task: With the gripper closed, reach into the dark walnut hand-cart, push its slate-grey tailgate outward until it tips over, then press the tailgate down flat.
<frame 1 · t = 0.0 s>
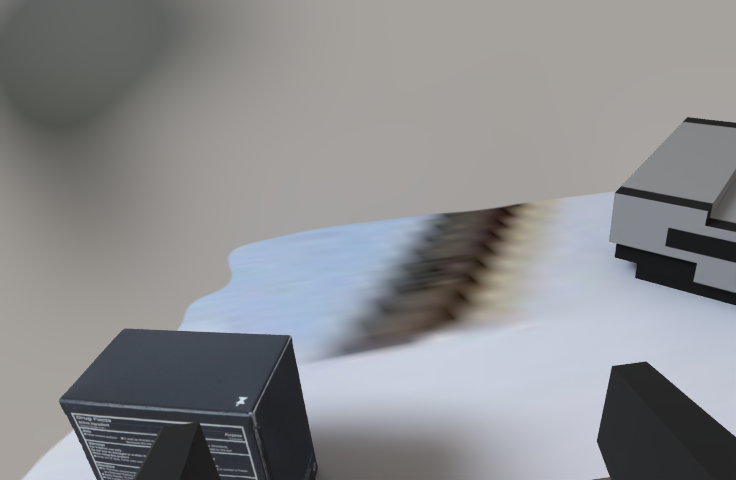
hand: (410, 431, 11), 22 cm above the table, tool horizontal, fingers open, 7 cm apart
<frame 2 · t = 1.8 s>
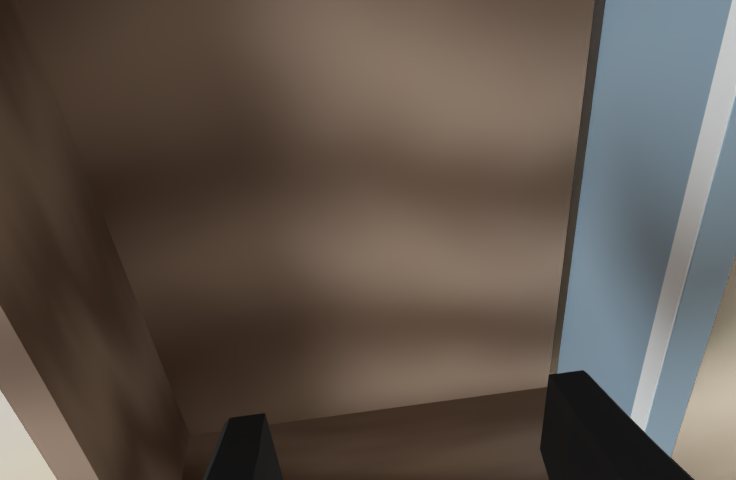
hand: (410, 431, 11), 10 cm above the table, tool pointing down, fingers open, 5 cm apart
cart bed: (329, 171, 19), on the table
tailgate: (647, 200, 16), point 4 cm above the table, hinge at 0.0°
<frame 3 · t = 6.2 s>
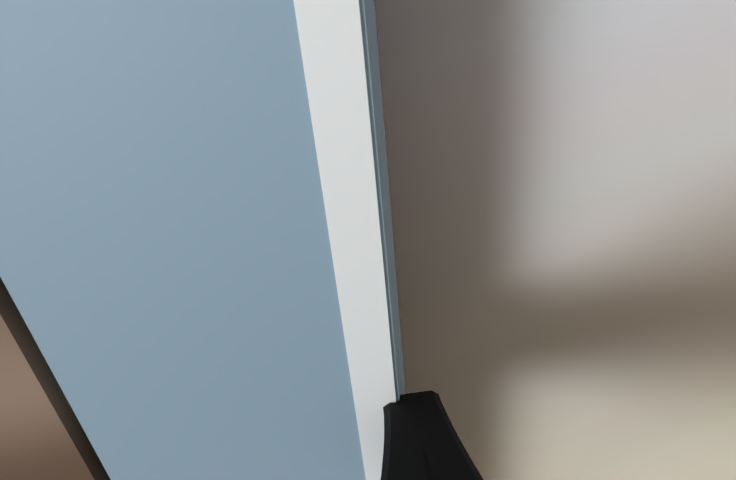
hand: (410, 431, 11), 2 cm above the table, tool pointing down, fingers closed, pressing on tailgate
tailgate: (245, 415, 11), point 1 cm above the table, hinge at 77.8°, touching gripper
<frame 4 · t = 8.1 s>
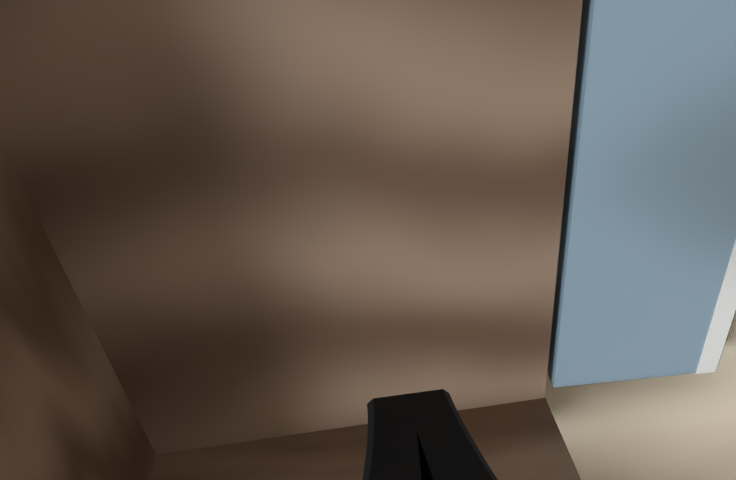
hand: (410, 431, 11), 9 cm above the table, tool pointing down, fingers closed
cart bed: (293, 165, 17), on the table
tailgate: (680, 123, 17), point 1 cm above the table, hinge at 87.0°
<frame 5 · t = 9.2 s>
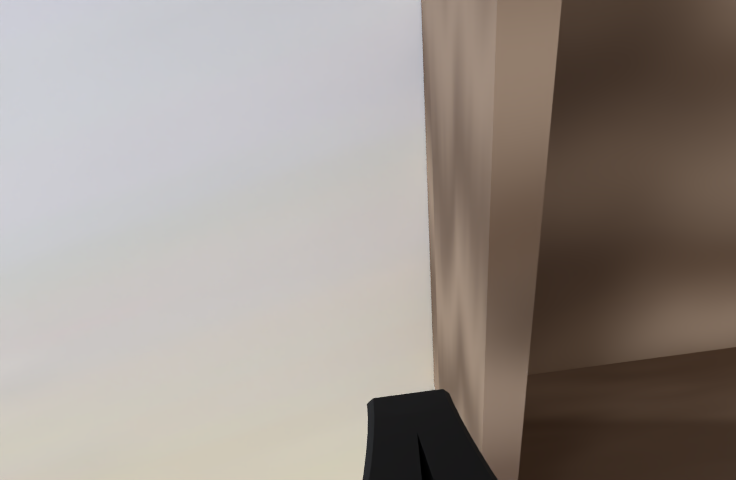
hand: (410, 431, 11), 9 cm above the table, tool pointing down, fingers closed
cart bed: (693, 81, 18), on the table
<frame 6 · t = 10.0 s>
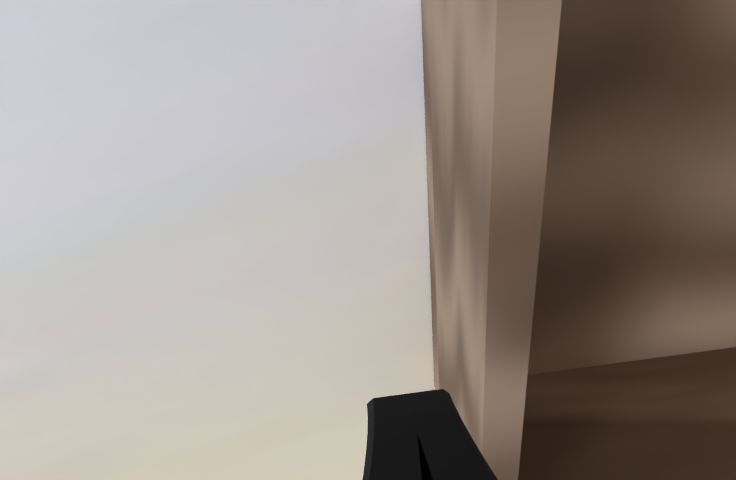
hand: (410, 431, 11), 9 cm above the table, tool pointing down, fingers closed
cart bed: (693, 81, 18), on the table
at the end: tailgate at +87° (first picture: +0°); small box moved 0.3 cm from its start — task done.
